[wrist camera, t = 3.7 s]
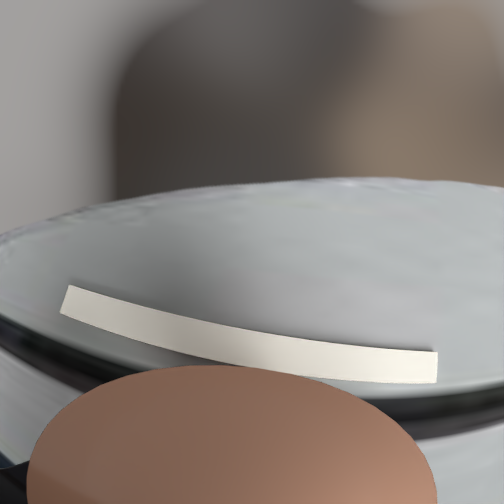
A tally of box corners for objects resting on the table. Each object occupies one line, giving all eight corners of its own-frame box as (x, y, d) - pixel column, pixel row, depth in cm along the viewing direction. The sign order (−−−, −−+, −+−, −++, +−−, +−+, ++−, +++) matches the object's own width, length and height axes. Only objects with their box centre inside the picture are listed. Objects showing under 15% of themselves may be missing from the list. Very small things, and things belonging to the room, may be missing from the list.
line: (62, 314, 15) (59, 312, 15) (72, 286, 16) (69, 284, 16) (432, 383, 14) (436, 382, 14) (434, 353, 15) (437, 352, 15)
